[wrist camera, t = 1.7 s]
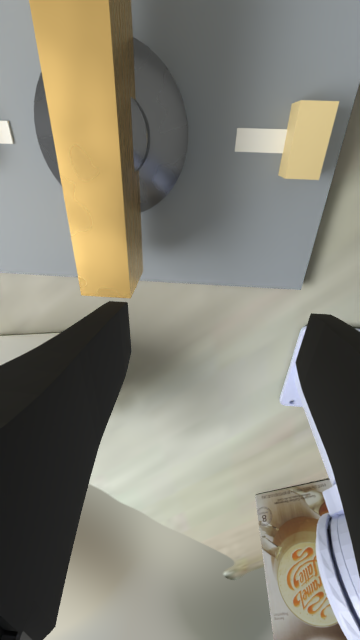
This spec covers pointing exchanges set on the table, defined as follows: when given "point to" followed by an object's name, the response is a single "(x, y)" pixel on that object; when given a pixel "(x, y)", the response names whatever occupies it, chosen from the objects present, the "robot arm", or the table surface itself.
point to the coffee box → (295, 563)
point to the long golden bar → (105, 133)
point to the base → (203, 140)
